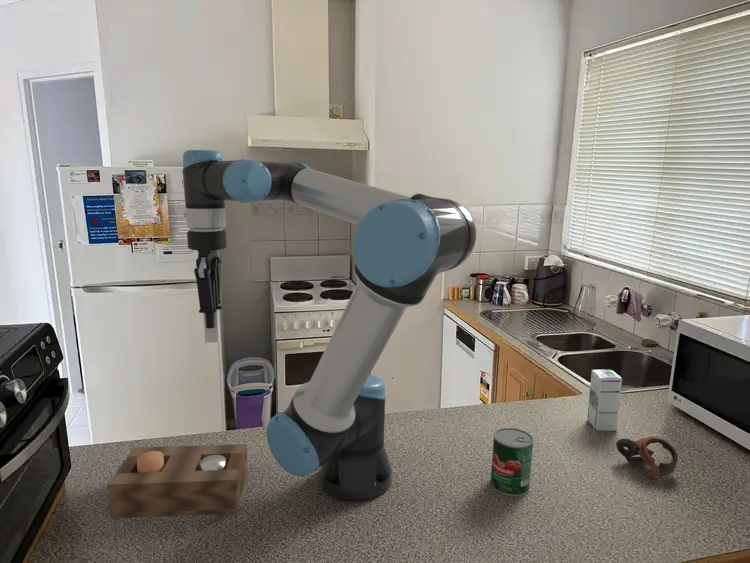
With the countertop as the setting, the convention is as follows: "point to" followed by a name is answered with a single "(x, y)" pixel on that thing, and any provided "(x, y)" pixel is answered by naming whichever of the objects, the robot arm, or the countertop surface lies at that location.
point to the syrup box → (604, 400)
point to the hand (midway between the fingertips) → (212, 341)
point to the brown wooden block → (179, 483)
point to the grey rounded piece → (213, 463)
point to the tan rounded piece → (150, 462)
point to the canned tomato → (511, 461)
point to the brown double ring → (648, 454)
